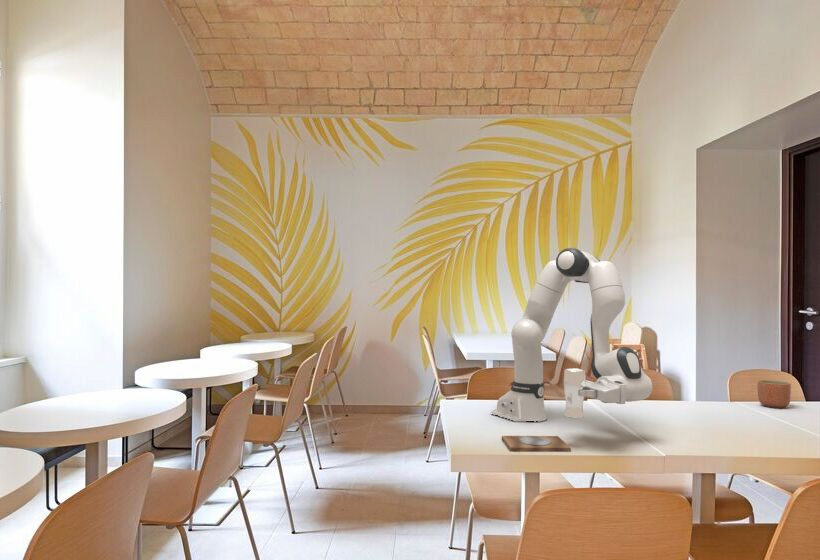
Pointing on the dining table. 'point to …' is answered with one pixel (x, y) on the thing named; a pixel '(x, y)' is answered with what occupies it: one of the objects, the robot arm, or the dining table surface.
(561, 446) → the walnut board
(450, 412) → the dining table surface
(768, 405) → the planter
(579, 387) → the beer glass
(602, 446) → the dining table surface
